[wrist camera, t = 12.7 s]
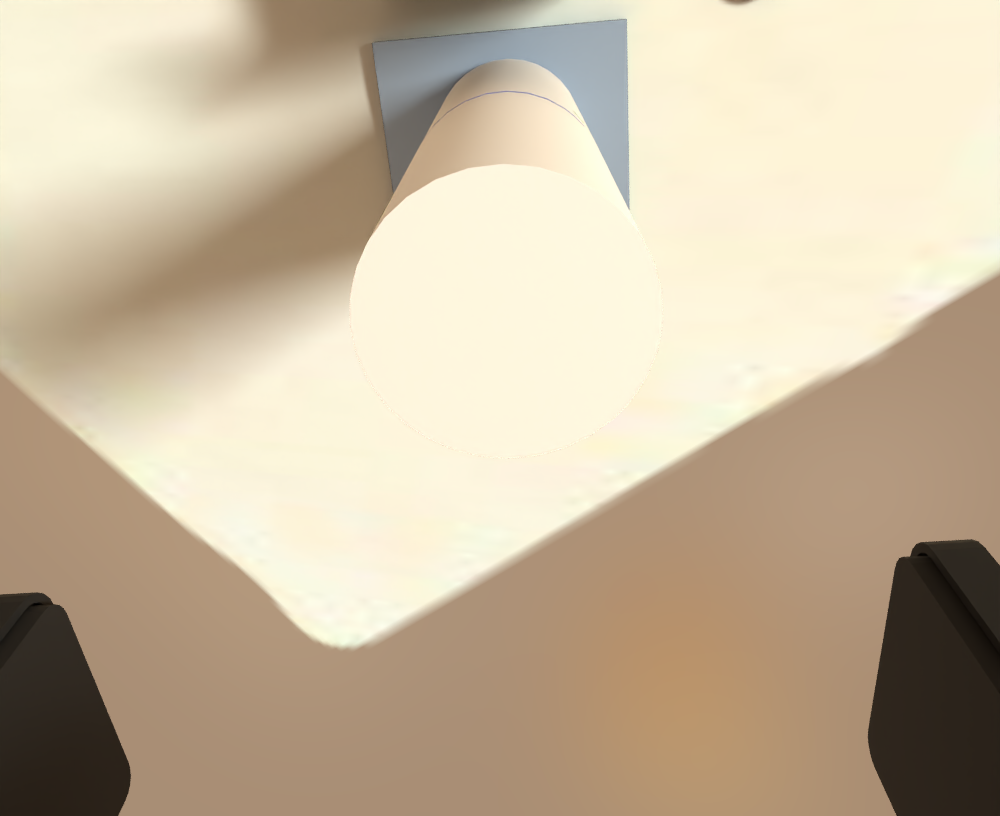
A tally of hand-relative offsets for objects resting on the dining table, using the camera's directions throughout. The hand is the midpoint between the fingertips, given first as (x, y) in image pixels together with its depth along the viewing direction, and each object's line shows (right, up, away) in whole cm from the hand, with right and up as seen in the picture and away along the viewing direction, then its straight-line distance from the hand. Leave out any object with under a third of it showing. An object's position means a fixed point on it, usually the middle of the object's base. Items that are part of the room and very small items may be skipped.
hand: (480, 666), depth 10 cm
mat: (+1, +16, +32) cm, 36 cm away
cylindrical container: (+1, +17, +32) cm, 36 cm away
